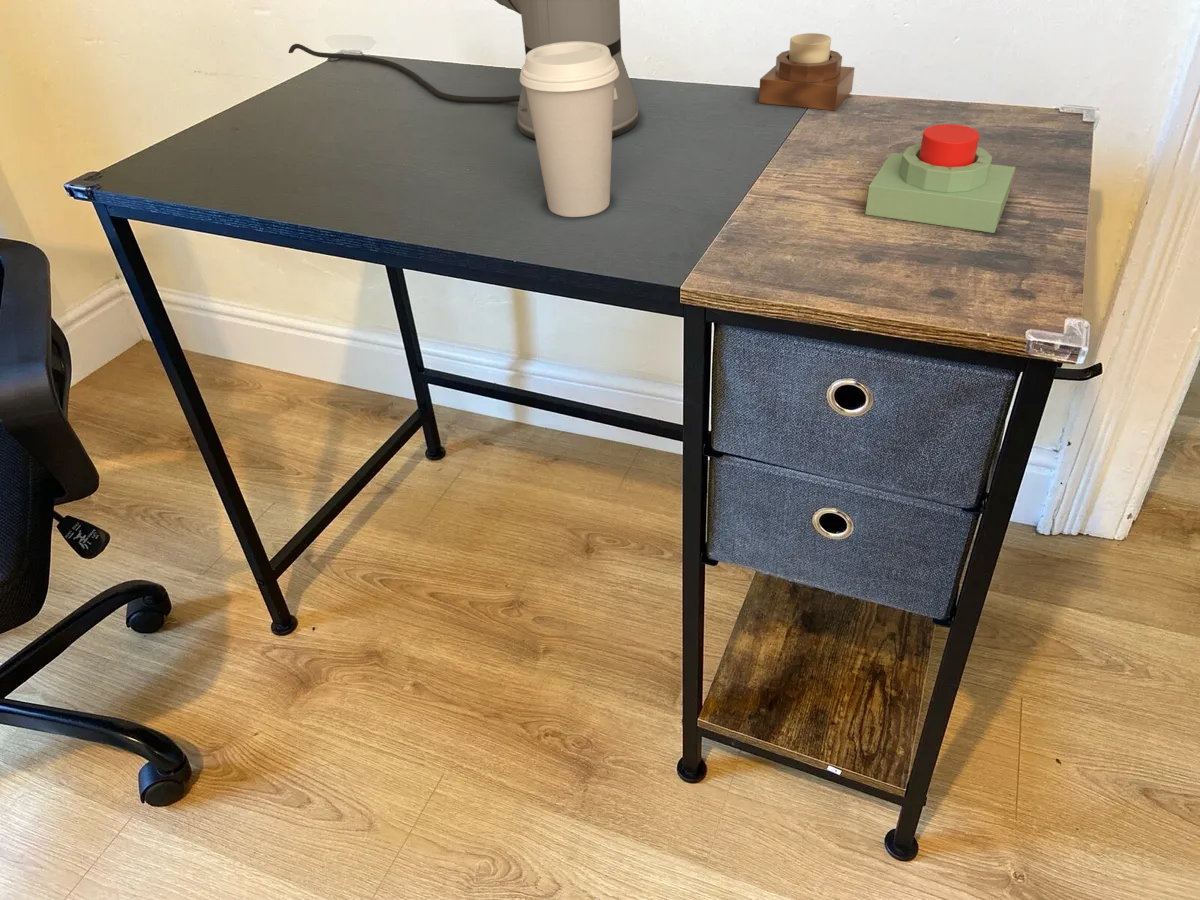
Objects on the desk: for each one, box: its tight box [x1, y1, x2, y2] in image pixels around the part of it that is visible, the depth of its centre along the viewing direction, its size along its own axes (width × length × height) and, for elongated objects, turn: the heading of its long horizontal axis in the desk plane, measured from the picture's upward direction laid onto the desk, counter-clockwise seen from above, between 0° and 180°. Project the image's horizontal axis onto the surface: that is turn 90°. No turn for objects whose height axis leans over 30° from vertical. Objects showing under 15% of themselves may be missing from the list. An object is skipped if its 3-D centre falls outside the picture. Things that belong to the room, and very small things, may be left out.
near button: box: [919, 123, 980, 167], centre depth 83 cm, size 5×5×2 cm
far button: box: [789, 32, 832, 63], centre depth 110 cm, size 5×5×3 cm
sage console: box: [864, 141, 1016, 234], centre depth 85 cm, size 12×9×5 cm
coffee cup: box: [519, 41, 619, 218], centre depth 87 cm, size 10×10×15 cm
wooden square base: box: [758, 49, 855, 111], centre depth 113 cm, size 10×8×5 cm
